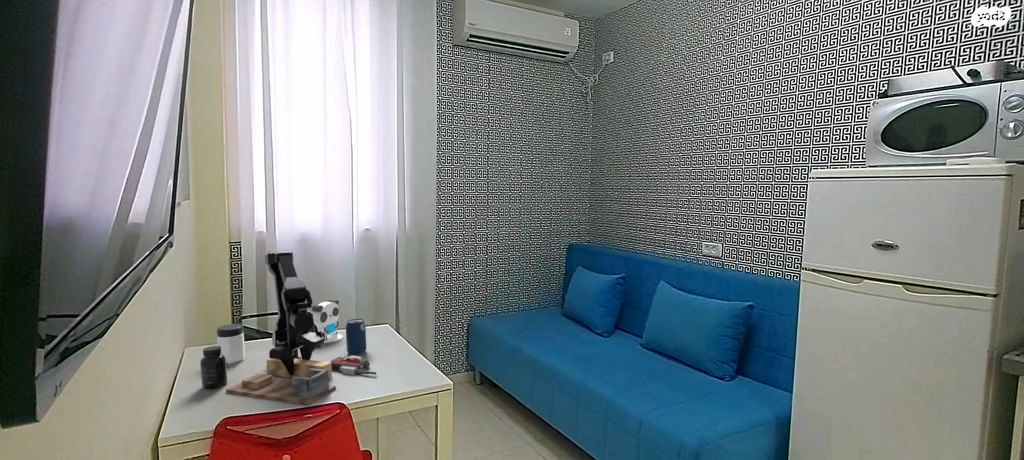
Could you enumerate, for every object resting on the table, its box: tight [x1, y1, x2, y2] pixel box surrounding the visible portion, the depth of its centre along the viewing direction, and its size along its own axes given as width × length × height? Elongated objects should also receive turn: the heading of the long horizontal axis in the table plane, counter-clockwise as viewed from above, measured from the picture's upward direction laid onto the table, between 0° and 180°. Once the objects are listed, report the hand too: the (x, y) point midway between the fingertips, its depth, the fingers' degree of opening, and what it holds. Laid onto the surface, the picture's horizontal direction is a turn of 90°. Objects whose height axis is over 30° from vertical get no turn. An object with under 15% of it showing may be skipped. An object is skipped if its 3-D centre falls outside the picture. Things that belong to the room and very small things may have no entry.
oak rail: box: [265, 358, 333, 379], centre depth 167 cm, size 22×4×5 cm, turn 73°
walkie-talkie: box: [330, 355, 377, 376], centre depth 171 cm, size 9×4×20 cm
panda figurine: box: [311, 299, 343, 344], centre depth 206 cm, size 12×11×15 cm
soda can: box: [345, 318, 367, 356], centre depth 188 cm, size 7×7×12 cm
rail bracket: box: [225, 368, 337, 406], centre depth 154 cm, size 30×12×6 cm, turn 71°
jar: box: [216, 323, 246, 365], centre depth 182 cm, size 9×8×12 cm
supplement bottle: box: [199, 345, 228, 390], centre depth 158 cm, size 7×7×12 cm
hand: (299, 371), depth 167 cm, fingers open, 6 cm apart
